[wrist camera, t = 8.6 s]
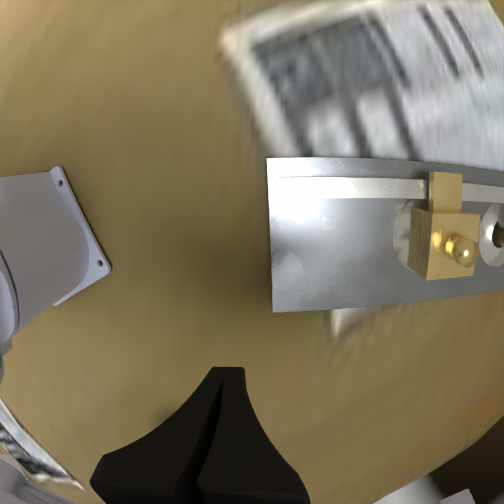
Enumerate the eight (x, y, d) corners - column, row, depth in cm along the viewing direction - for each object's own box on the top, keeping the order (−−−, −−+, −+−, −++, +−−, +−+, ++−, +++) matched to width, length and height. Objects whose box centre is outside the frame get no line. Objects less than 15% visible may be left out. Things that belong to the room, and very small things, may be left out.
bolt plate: (272, 304, 21) (274, 364, 14) (266, 159, 18) (267, 153, 12) (503, 283, 20) (549, 313, 13) (514, 174, 17) (570, 184, 10)
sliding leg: (407, 265, 18) (438, 290, 14) (411, 169, 16) (448, 172, 12) (451, 262, 18) (486, 284, 14) (457, 173, 16) (497, 178, 12)
